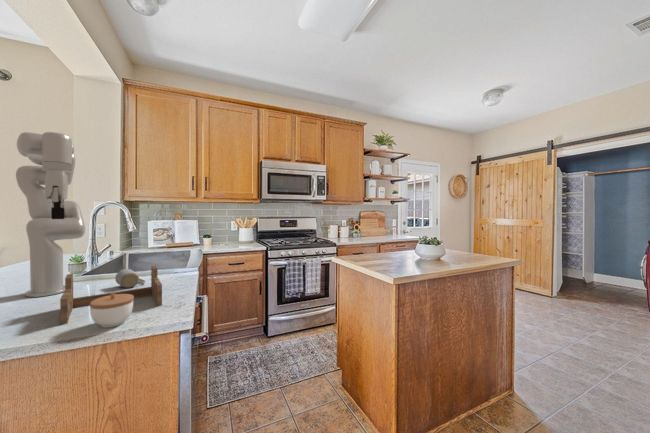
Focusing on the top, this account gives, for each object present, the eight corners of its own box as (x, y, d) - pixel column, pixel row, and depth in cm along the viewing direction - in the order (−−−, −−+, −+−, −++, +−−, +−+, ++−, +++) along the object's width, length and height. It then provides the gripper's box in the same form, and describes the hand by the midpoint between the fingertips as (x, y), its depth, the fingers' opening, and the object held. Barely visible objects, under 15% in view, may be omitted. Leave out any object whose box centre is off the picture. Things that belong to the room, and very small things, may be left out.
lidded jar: (103, 334, 76) (103, 302, 76) (82, 327, 80) (81, 296, 80) (141, 319, 86) (141, 291, 86) (120, 314, 90) (120, 287, 90)
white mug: (121, 290, 115) (121, 272, 115) (114, 286, 120) (115, 270, 120) (148, 285, 124) (148, 269, 124) (141, 282, 129) (141, 266, 129)
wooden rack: (67, 307, 95) (67, 274, 95) (155, 293, 112) (155, 265, 112) (60, 324, 81) (60, 286, 81) (161, 305, 99) (161, 273, 98)
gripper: (46, 169, 98) (47, 218, 98) (37, 164, 86) (38, 220, 87) (74, 171, 103) (74, 218, 103) (69, 167, 91) (70, 219, 92)
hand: (58, 218), depth 95 cm, fingers closed
